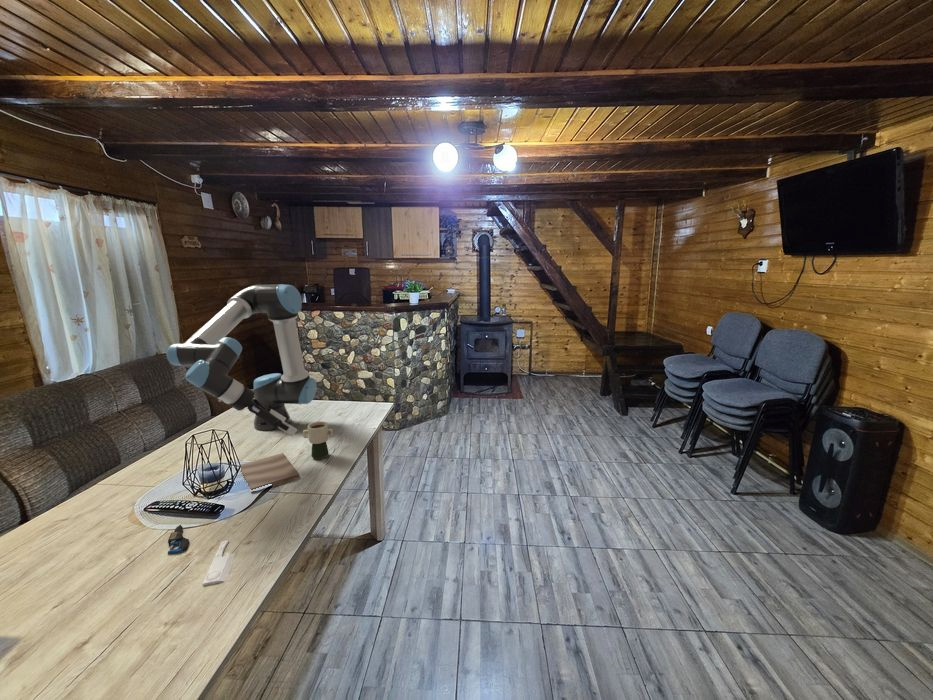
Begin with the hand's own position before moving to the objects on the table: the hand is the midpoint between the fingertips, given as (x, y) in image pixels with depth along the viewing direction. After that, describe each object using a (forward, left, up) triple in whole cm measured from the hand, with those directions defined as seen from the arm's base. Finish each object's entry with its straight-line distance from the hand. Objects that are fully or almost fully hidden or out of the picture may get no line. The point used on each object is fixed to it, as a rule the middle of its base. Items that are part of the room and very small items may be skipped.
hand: (289, 426), depth 143 cm
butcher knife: (+40, -28, -16) cm, 51 cm away
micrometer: (+23, -36, -16) cm, 45 cm away
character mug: (0, +10, -15) cm, 18 cm away
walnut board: (+1, -8, -15) cm, 17 cm away
